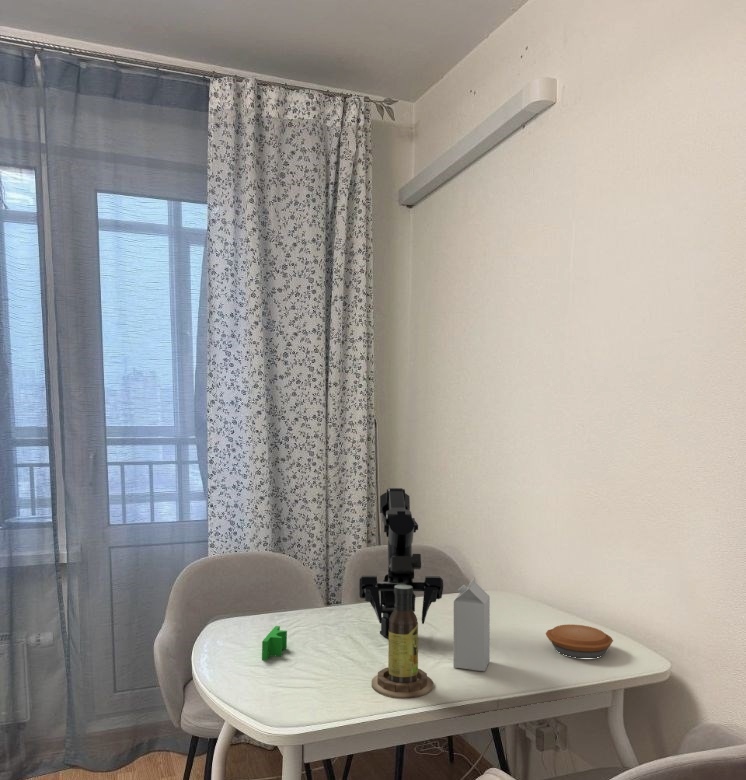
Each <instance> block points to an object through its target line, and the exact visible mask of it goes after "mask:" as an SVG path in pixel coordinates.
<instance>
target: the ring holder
mask: <svg viewBox="0 0 746 780" xmlns="http://www.w3.org/2000/svg"><path fill="white" fill-rule="evenodd" d="M371 687H372V689H373V690H374V691H375V692H376V693H378V694H380V695H382V696H385V695H386V696H385V697H389V696H390V697H389V698H394V697H395V699H412V698H413V699H414V698H419V697H422V696H425V695H428V694H430V692H432V690H433V688H434V681H433V679H432V678H431V677H429V676H428V673H426V672H425V671H424V670H422V669H421V668H418V673H417V681H416V682H411V683H396V682H392V681H389V671H388V667H385V668H382V669H380V670H378V672H377V674H376V675H374V677H373V678H372V679H371Z"/></svg>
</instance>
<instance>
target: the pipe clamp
mask: <svg viewBox="0 0 746 780" xmlns="http://www.w3.org/2000/svg"><path fill="white" fill-rule="evenodd" d="M287 637H288V630H281V626H279V625H278V626H277V625H275V626H274V627H273V628H272V629H271V631H269V633H268V634H266V636H265V637H264V638H263V640H262V641H261V661H267V660H268V659H270V657H271V656H270V655H274V656H273V657H282V656H281V655H283V650H282V649H286V648H287V646H288V638H287ZM286 650H287V649H286ZM275 655H276V656H275ZM269 656H270V657H269Z"/></svg>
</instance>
